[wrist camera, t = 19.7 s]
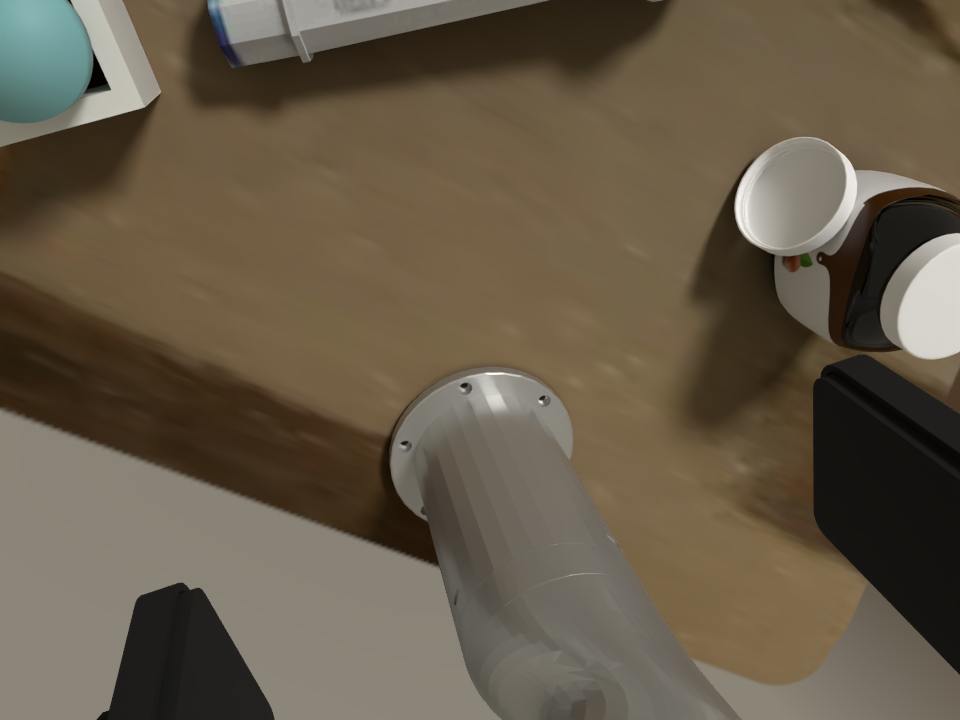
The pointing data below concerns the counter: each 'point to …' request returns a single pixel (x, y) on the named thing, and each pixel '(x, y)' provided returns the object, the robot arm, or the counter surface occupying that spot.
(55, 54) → the teal mushroom knob
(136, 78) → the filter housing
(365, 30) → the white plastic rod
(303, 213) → the counter surface
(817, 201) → the spread jar
